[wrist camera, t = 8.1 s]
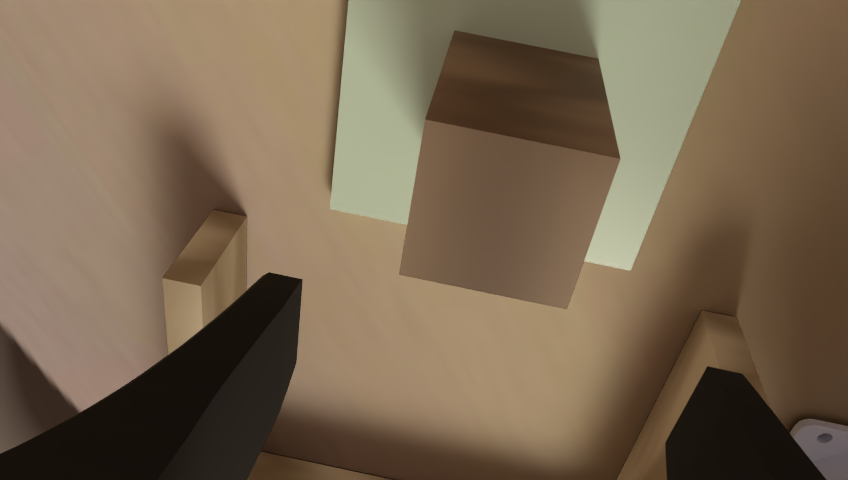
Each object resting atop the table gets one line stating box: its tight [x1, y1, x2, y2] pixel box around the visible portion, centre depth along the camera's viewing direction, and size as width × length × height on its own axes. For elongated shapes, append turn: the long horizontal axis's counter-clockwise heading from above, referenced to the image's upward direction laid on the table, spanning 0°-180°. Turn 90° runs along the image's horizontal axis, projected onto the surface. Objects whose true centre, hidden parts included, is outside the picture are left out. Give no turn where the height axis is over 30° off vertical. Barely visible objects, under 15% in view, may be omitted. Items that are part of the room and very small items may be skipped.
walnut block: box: [399, 30, 620, 309], centre depth 17 cm, size 4×4×6 cm
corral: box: [162, 210, 769, 480], centre depth 26 cm, size 18×14×4 cm
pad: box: [330, 0, 741, 271], centre depth 20 cm, size 10×10×1 cm
